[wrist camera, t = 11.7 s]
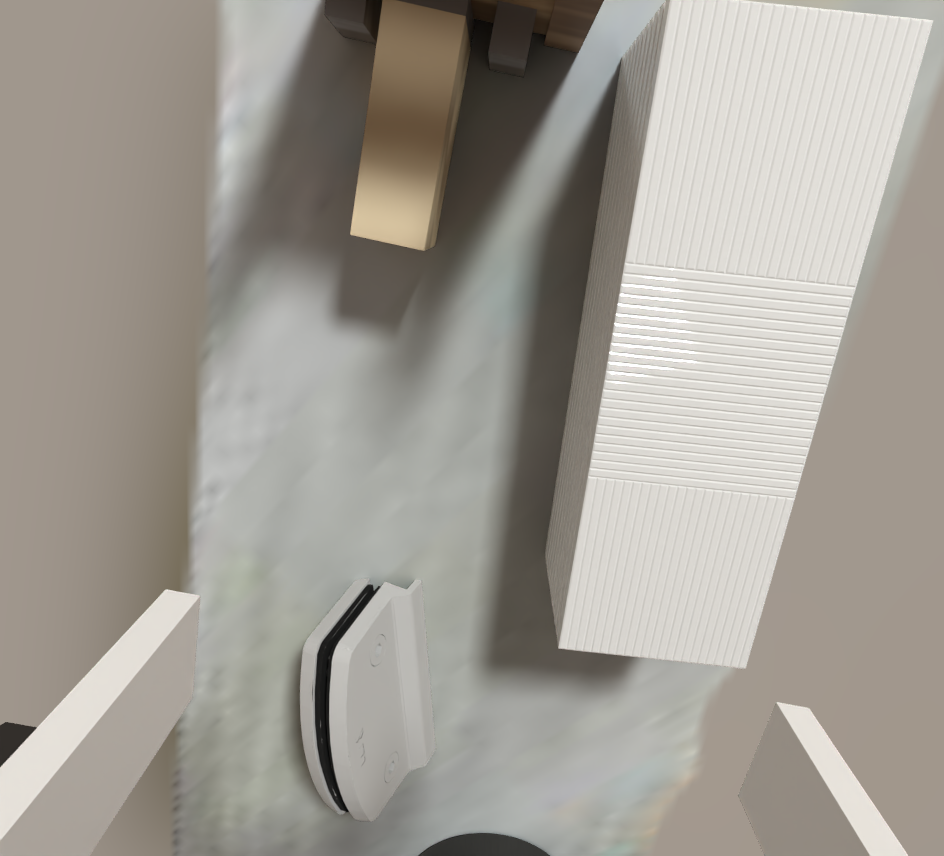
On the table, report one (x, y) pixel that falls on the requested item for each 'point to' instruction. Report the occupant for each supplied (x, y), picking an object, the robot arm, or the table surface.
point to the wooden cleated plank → (503, 3)
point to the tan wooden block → (412, 120)
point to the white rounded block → (367, 697)
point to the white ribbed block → (716, 313)
